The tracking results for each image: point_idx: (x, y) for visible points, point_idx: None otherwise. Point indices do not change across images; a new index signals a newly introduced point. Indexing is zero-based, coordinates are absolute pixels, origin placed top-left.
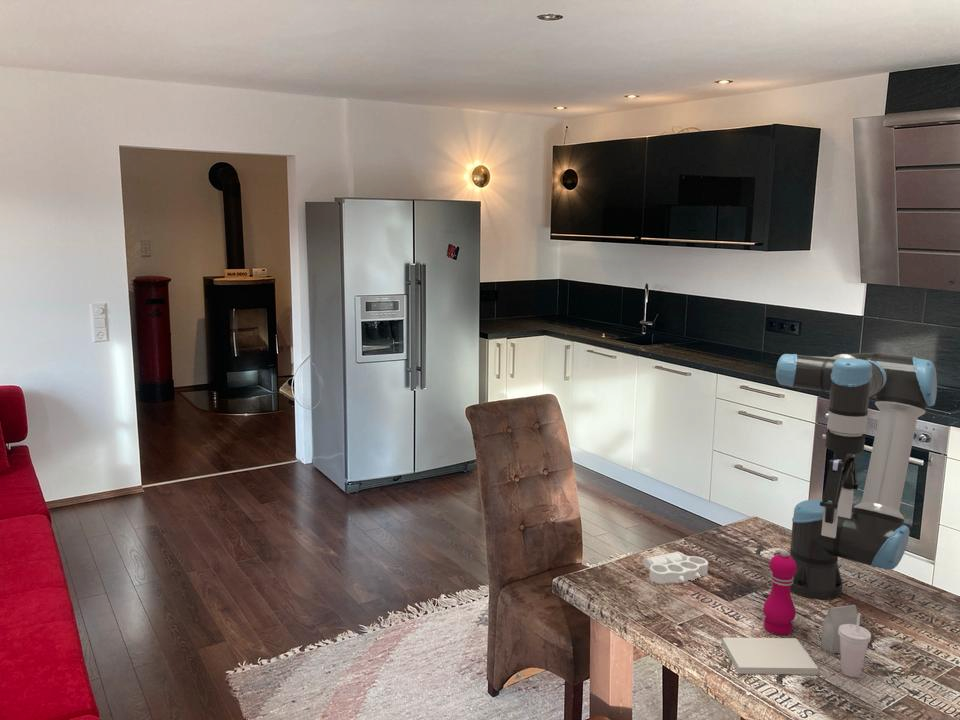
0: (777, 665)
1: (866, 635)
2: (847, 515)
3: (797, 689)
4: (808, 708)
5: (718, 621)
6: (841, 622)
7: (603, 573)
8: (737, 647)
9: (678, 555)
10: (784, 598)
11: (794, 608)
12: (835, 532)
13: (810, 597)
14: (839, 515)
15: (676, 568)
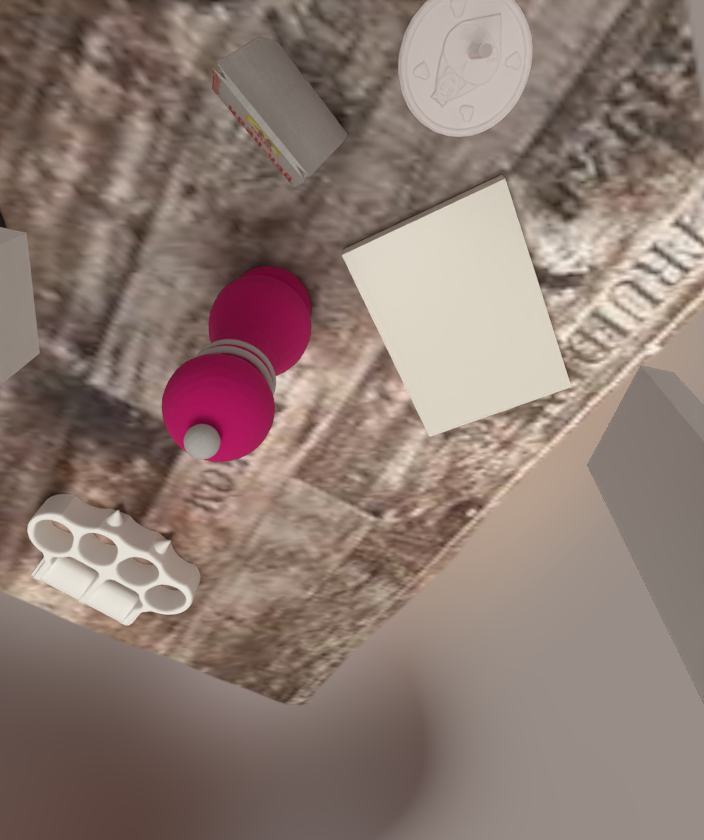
0: (529, 296)
1: (484, 6)
2: (13, 271)
3: (604, 229)
4: (701, 193)
5: (316, 444)
6: (305, 119)
7: (225, 660)
8: (467, 399)
9: (53, 572)
10: (275, 339)
11: (256, 290)
12: (701, 403)
13: (2, 221)
14: (31, 338)
15: (121, 563)
